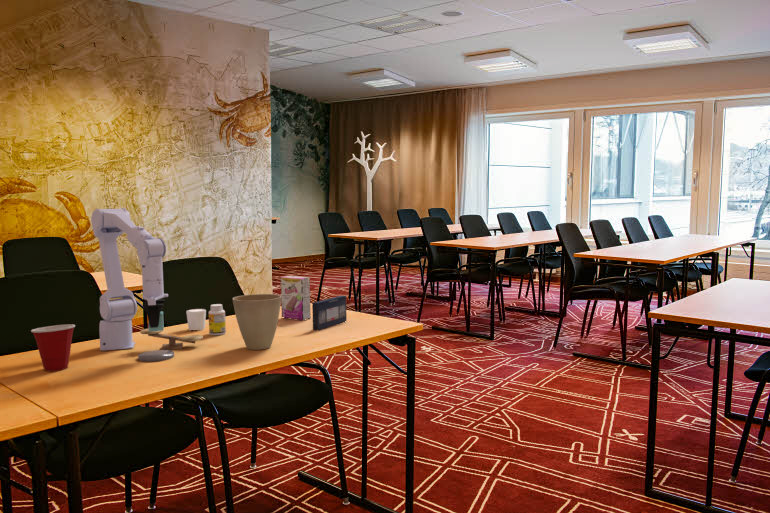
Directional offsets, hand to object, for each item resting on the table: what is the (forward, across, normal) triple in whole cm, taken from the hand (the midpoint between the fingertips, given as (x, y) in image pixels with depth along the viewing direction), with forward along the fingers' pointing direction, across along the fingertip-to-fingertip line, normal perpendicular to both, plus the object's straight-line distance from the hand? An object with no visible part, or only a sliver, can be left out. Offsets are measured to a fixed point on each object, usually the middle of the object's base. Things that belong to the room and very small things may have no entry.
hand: (155, 325), depth 181 cm
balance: (+9, +11, -4) cm, 15 cm away
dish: (+10, 0, 0) cm, 10 cm away
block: (+1, 0, 0) cm, 1 cm away
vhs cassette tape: (+10, +29, -58) cm, 66 cm away
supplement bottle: (+10, +28, -18) cm, 35 cm away
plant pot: (+10, +3, -30) cm, 32 cm away
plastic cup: (+10, -4, +26) cm, 28 cm away
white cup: (+10, +39, -11) cm, 42 cm away
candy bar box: (+10, +47, -48) cm, 68 cm away
